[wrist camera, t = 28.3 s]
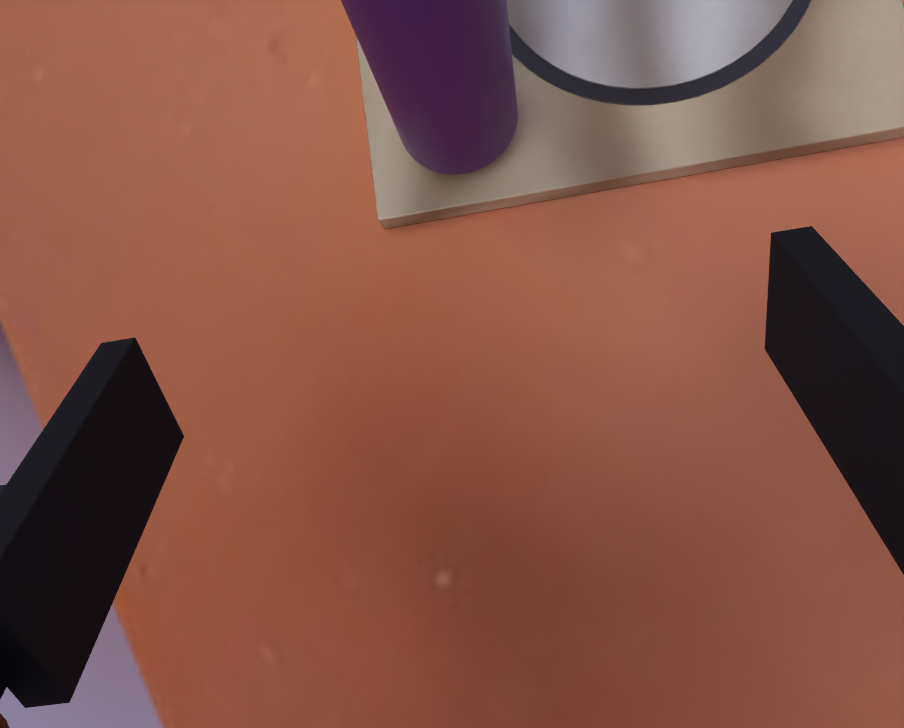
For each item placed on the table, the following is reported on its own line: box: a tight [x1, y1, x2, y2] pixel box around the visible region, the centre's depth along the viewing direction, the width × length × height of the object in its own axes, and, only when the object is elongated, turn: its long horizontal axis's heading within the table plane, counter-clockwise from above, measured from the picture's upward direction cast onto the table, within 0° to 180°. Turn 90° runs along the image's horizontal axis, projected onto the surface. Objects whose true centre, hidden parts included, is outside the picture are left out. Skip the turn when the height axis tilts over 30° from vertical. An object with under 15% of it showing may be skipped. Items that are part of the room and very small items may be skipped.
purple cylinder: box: [341, 0, 518, 175], centre depth 23 cm, size 4×4×12 cm
